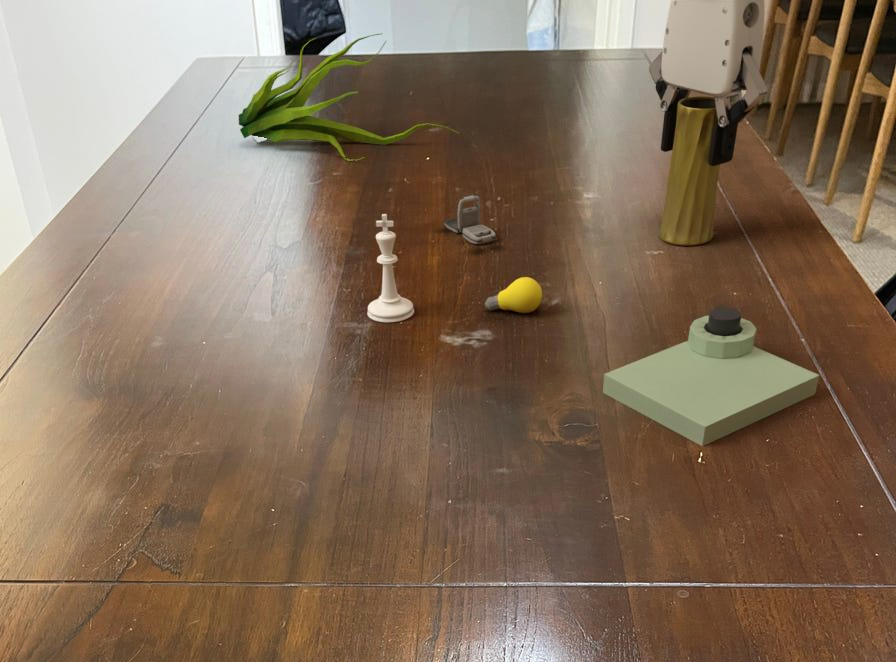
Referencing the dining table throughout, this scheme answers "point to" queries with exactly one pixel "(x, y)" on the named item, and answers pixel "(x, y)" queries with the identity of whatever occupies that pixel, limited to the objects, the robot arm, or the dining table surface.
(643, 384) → the green mounting base
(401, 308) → the chess piece
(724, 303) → the dining table surface
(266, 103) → the decorative plant
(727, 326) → the button
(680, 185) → the vase
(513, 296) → the light bulb
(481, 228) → the strap clip
